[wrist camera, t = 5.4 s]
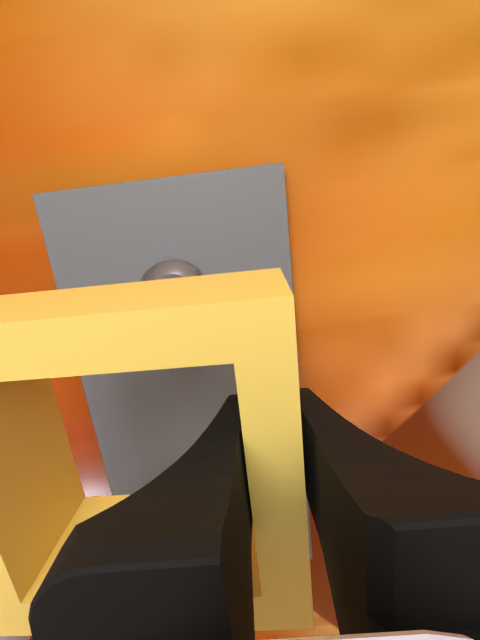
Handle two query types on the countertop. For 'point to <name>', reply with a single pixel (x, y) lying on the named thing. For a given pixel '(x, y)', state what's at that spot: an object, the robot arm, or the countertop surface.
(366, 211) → the countertop surface
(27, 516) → the link
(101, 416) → the keeper board
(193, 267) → the metal drawer knob
